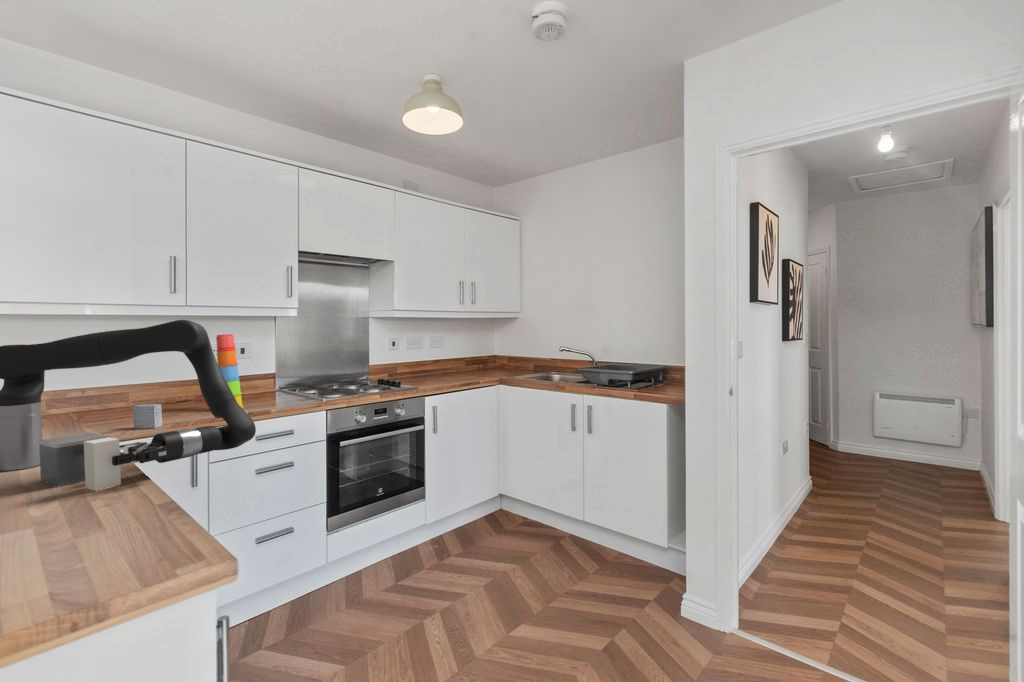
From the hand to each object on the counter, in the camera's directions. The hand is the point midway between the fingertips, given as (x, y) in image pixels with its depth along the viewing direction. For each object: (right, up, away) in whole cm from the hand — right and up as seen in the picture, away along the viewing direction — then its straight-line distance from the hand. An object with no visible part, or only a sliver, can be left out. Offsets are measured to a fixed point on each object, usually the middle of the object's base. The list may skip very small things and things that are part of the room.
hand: (103, 459), depth 120 cm
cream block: (0, -7, 0) cm, 7 cm away
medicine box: (-42, -5, +73) cm, 85 cm away
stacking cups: (-32, -4, +113) cm, 117 cm away
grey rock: (-18, -5, +95) cm, 97 cm away
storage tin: (-13, -6, +7) cm, 16 cm away
